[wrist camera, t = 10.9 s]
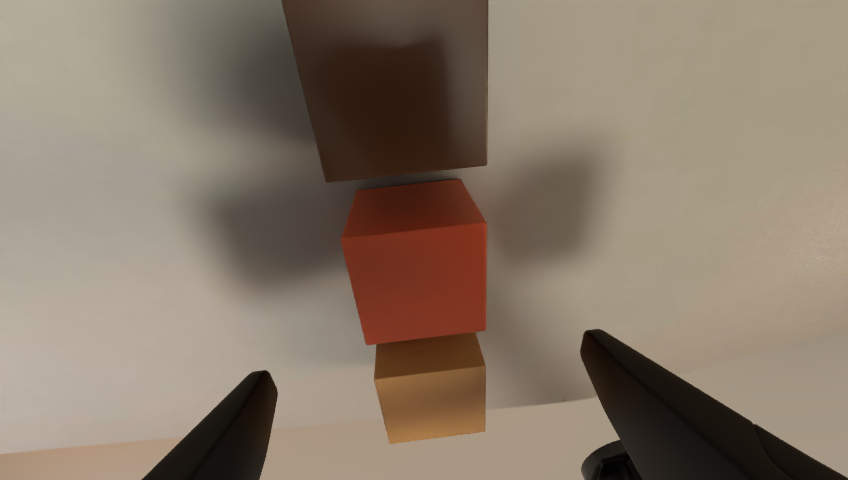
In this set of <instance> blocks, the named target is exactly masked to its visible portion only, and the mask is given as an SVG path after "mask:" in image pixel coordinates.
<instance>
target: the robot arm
mask: <svg viewBox="0 0 848 480" xmlns="http://www.w3.org/2000/svg"><path fill="white" fill-rule="evenodd" d="M580 354H581V358H582V361H583V363H584V365H585V368H586V370H587V372H588V375H589V377H590V379H591V381H592V384H593V386H594V388H595V391H596V393H597V395H598V397H599V400H600V402H601V404H602V406H603V408H604V410H605V412H606V414H607V416H608V418H609V420H610V422H611V423H612V425H613V427H614V429H615V431H616V433H617V434H618V436H619V438H620V440H621V442H622V443H623V445H624V447H625V449H626V450H627V452H628V454H629V455H624V456H616V457H609V458H604V459H602V460H601V461H600V463H599V466H598V469H597V472H596V475H595V478H594V480H848V478H847V477H845V476H843V475H842V474H840V473H838V472H836V471H834V470H832V469H831V468H829V467H827V466H826V465H824V464H822V463H820V462H818V461H817V460H815V459H813V458H811V457H810V456H808V455H806V454H805V453H803V452H801V451H800V450H798V449H796V448H794V447H793V446H791V445H789V444H788V443H786V442H784V441H783V440H781V439H779V438H778V437H776V436H774V435H773V434H771V433H769V432H768V431H766V430H765V429H763V428H761V427H760V426H758V425H756V424H753V423H752V422H751V421H750V420H748V419H746V418H745V417H743V416H742V415H740V414H738V413H737V412H735V411H733V410H732V409H730V408H729V407H727V406H725V405H724V404H722V403H720V402H719V401H717V400H715V399H714V398H712V397H711V396H709V395H707V394H706V393H704V392H702V391H701V390H699V389H698V388H696V387H694V386H693V385H691V384H689V383H688V382H686V381H684V380H683V379H681V378H680V377H678V376H676V375H675V374H673V373H671V372H670V371H668V370H667V369H665V368H663V367H662V366H660V365H658V364H657V363H655V362H653V361H652V360H650V359H649V358H647V357H645V356H644V355H642V354H640V353H639V352H637V351H636V350H634V349H632V348H631V347H629V346H627V345H626V344H624V343H622V342H621V341H619V340H618V339H616V338H614V337H613V336H611V335H609V334H608V333H606V332H605V331H603V330H600V329H594V330H587V331H585V332H584V335H583V340H582V344H581V349H580ZM277 396H278V392H277V388H276V386H275V384H274V381H273V379H272V377H271V375H270V373H269V372H268V371H267V370H263V371H255V372H252V373H250V374H249V375H248V376H247V377H246V378H245V379H244V380H243V381H242V382H241V383H240V384H239V385H238V386H237V387H236V388H235V389H234V390H233V391H232V392H231V393H229V394H228V395H227V396H226V397H225V398H224V399H223V400H222V401H221V402H220V403H219V404H218V405H217V406H216V407H215V408H214V409H213V410H212V411H211V412H210V413H209V414H208V415H207V416H206V417H205V418H204V419H203V420H202V421H201V422H200V423H199V424H198V425H197V426H196V427H195V428H194V429H193V430H192V431H191V432H190V433H189V434H188V435H187V436H186V437H185V438H184V439H183V440H182V441H181V442H180V443H179V444H177V445H176V446H175V447H174V449H172V450H171V451H170V452H169V453H168V454H167V455H166V456H165V457H164V458H163V459H162V460H161V461H160V462H159V463H158V464H157V465H156V466H155V467H154V468H153V469H152V470H151V471H150V472H149V473H148V474H147V475H146V476H145V477H144V478H143V479H142V480H259V479H260V475H261V472H262V468H263V465H264V461H265V457H266V453H267V449H268V443H269V439H270V433H271V428H272V423H273V418H274V413H275V407H276V402H277Z"/></svg>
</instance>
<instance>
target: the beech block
mask: <svg viewBox="0 0 848 480" xmlns="http://www.w3.org/2000/svg"><path fill="white" fill-rule="evenodd" d="M374 382H375V386H376V390H377V394H378V398H379V402H380V406H381V410H382V414H383V419H384V423H385V426H386V431H387V435H388V439H389V443H390V444H393V443H401V442H407V441H416V440H423V439H431V438H438V437H447V436H454V435H462V434H470V433H478V432H485V393H486V365H485V362H484V358H483V355H482V352H481V349H480V345H479V342H478V339H477V335H476V332H470V333H462V334H454V335H446V336H438V337H429V338H421V339H413V340H405V341H397V342H389V343H381V344H377V345H376V359H375V372H374Z"/></svg>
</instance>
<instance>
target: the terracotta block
mask: <svg viewBox="0 0 848 480" xmlns="http://www.w3.org/2000/svg"><path fill="white" fill-rule="evenodd" d="M340 241H341V245H342V249H343V253H344V257H345V261H346V265H347V269H348V273H349V277H350V281H351V285H352V289H353V293H354V298H355V302H356V306H357V310H358V314H359V318H360V322H361V326H362V330H363V334H364V338H365V342H366V344H367V345H373V344H381V343H389V342H397V341H405V340H413V339H421V338H429V337H438V336H446V335H454V334H462V333H470V332H478V331H485V330H486V262H487V223H486V221H485V219H484V218H483V216H482V214H481V213H480V211H479V209H478V208H477V206H476V204H475V203H474V201H473V199H472V197H471V196H470V194H469V192H468V191H467V189H466V187H465V186H464V184H463V182H462V181H461V179H454V180H445V181H436V182H427V183H418V184H409V185H400V186H391V187H382V188H373V189H364V190H357V191H356V194H355V197H354V200H353V203H352V206H351V209H350V212H349V215H348V218H347V221H346V224H345V227H344V230H343V233H342V236H341V240H340Z"/></svg>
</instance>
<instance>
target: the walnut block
mask: <svg viewBox="0 0 848 480" xmlns="http://www.w3.org/2000/svg"><path fill="white" fill-rule="evenodd" d="M281 2H282V6H283V10H284V14H285V18H286V22H287V26H288V30H289V34H290V39H291V43H292V47H293V51H294V55H295V59H296V63H297V67H298V71H299V75H300V79H301V83H302V88H303V92H304V96H305V100H306V104H307V108H308V112H309V116H310V120H311V124H312V128H313V132H314V137H315V141H316V145H317V149H318V153H319V157H320V161H321V165H322V169H323V173H324V177H325V181H326V182H327V183H329V182H338V181H348V180H357V179H366V178H375V177H384V176H394V175H403V174H412V173H421V172H430V171H440V170H449V169H458V168H467V167H476V166H485V165H487V113H488V0H281Z"/></svg>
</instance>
